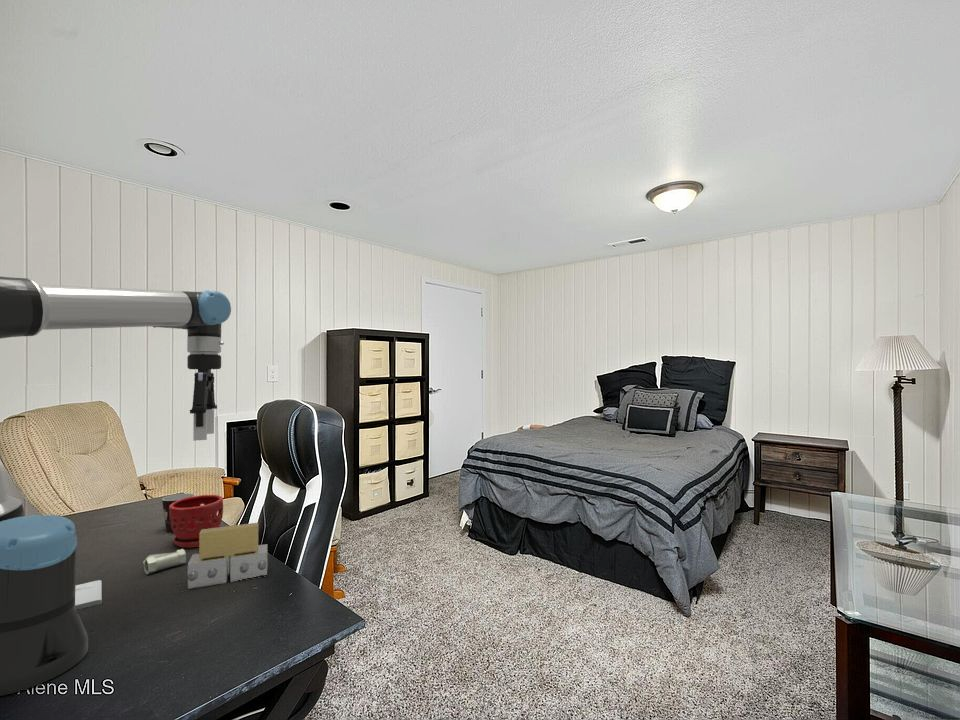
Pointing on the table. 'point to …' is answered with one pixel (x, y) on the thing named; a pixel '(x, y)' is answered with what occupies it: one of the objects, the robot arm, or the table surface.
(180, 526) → the plant pot
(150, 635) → the table surface
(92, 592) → the external hard drive
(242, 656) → the table surface
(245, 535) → the tan notched arch block
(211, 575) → the twin gray knob boxes
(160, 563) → the pipe fitting
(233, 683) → the table surface
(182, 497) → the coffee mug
